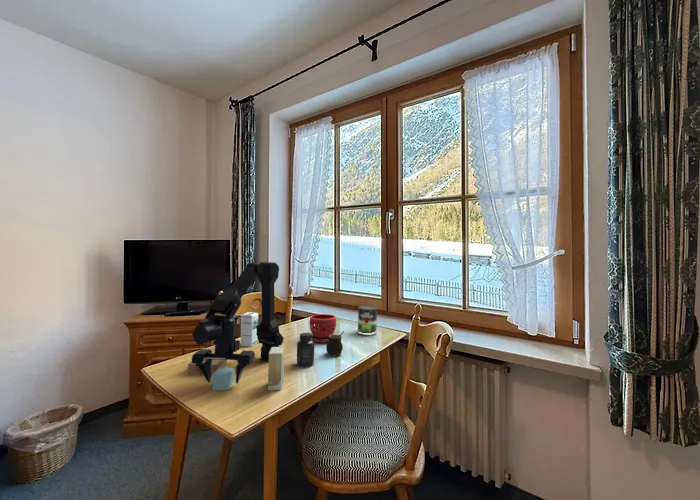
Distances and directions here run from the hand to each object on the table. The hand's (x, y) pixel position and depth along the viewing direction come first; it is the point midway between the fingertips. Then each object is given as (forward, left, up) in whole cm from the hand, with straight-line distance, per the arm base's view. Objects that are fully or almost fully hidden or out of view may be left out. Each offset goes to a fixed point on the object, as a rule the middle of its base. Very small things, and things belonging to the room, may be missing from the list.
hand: (223, 382), depth 100 cm
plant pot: (-28, -51, -1) cm, 58 cm away
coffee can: (-51, -65, -1) cm, 83 cm away
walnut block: (+11, -13, -2) cm, 17 cm away
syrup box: (+5, -41, -1) cm, 41 cm away
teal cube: (0, 0, -1) cm, 1 cm away
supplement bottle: (-24, -20, -1) cm, 31 cm away
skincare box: (-17, -1, -1) cm, 17 cm away
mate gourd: (-35, -32, -1) cm, 47 cm away
